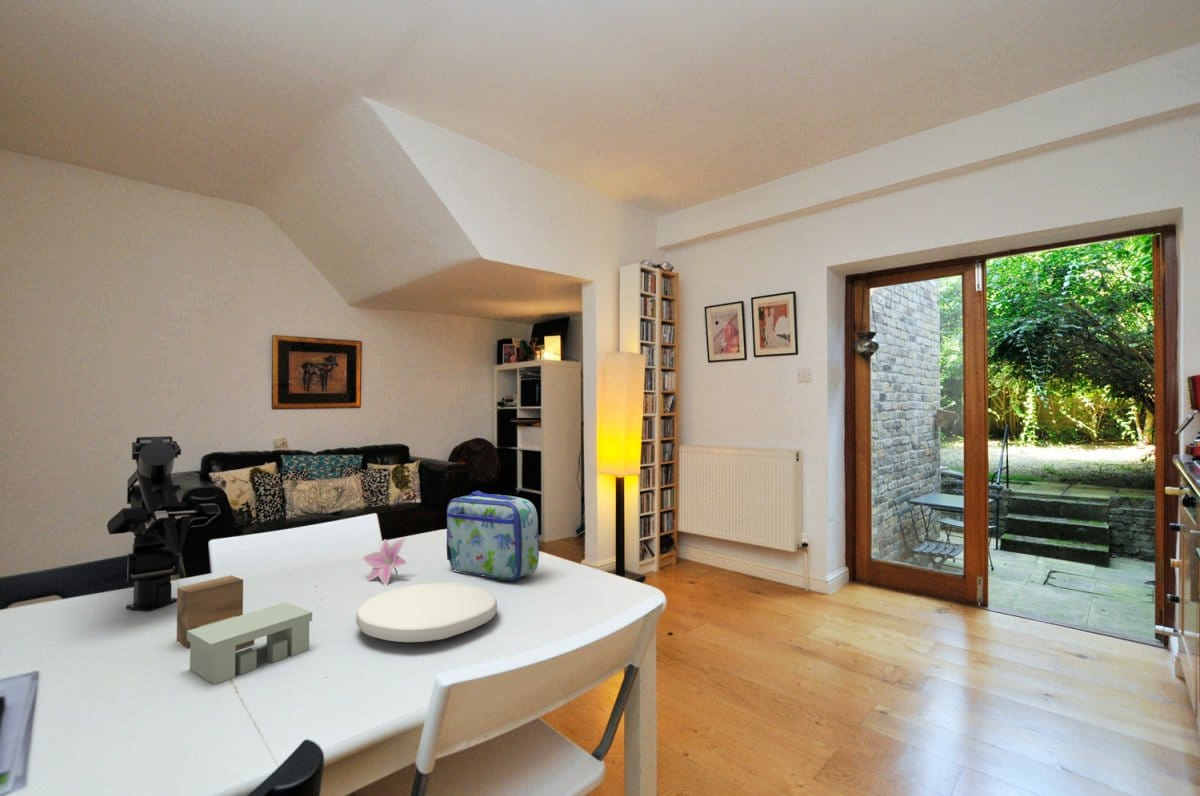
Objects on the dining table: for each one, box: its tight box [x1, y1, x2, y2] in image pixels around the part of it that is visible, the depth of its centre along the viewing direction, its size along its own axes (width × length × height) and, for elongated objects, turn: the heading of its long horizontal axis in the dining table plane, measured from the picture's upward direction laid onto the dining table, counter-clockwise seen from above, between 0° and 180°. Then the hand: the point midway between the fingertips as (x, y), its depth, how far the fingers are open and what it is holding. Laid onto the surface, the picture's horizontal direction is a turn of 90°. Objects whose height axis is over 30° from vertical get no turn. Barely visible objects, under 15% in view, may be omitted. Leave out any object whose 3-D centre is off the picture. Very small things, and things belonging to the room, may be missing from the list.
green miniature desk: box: [187, 601, 313, 685], centre depth 95 cm, size 9×16×6 cm, turn 146°
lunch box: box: [446, 490, 540, 582], centre depth 143 cm, size 26×11×21 cm, turn 58°
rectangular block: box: [176, 574, 255, 651], centre depth 102 cm, size 13×9×10 cm
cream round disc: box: [355, 582, 498, 643], centre depth 111 cm, size 28×6×27 cm
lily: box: [362, 537, 408, 585], centre depth 139 cm, size 12×12×10 cm
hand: (178, 553), depth 112 cm, fingers closed
